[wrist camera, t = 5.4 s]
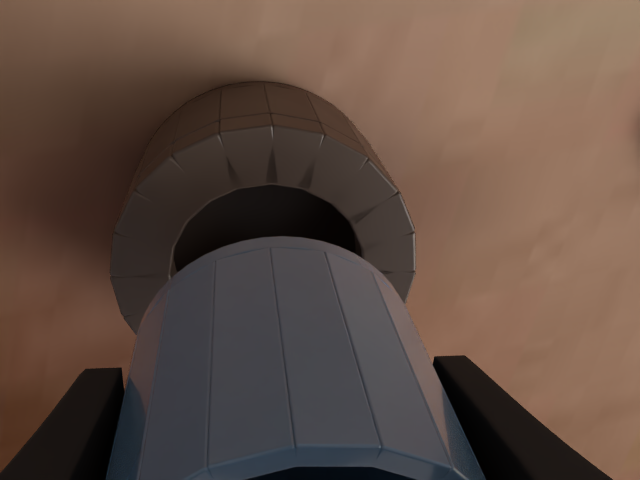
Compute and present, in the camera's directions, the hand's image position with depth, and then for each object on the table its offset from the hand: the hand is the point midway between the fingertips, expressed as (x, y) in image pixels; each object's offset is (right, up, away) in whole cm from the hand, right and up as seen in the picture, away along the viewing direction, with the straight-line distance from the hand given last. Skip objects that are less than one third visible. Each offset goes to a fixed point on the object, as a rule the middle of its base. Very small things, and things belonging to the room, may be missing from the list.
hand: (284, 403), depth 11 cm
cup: (0, +1, +1) cm, 1 cm away
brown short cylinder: (-1, +4, +8) cm, 9 cm away
